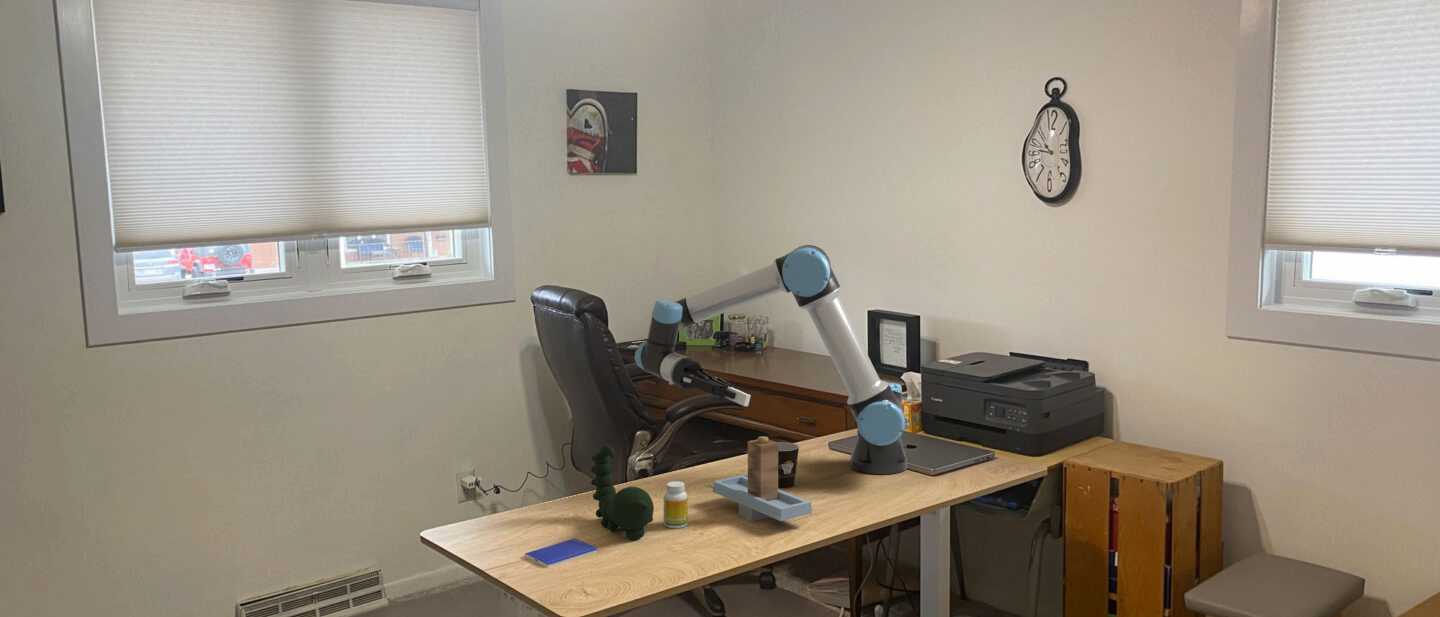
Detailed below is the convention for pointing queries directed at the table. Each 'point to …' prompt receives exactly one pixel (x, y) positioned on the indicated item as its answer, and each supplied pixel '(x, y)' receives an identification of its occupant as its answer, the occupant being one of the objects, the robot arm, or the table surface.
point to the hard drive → (561, 552)
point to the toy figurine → (619, 500)
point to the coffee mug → (787, 464)
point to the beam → (761, 501)
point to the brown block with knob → (763, 468)
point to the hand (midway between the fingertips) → (747, 400)
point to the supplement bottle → (675, 505)
